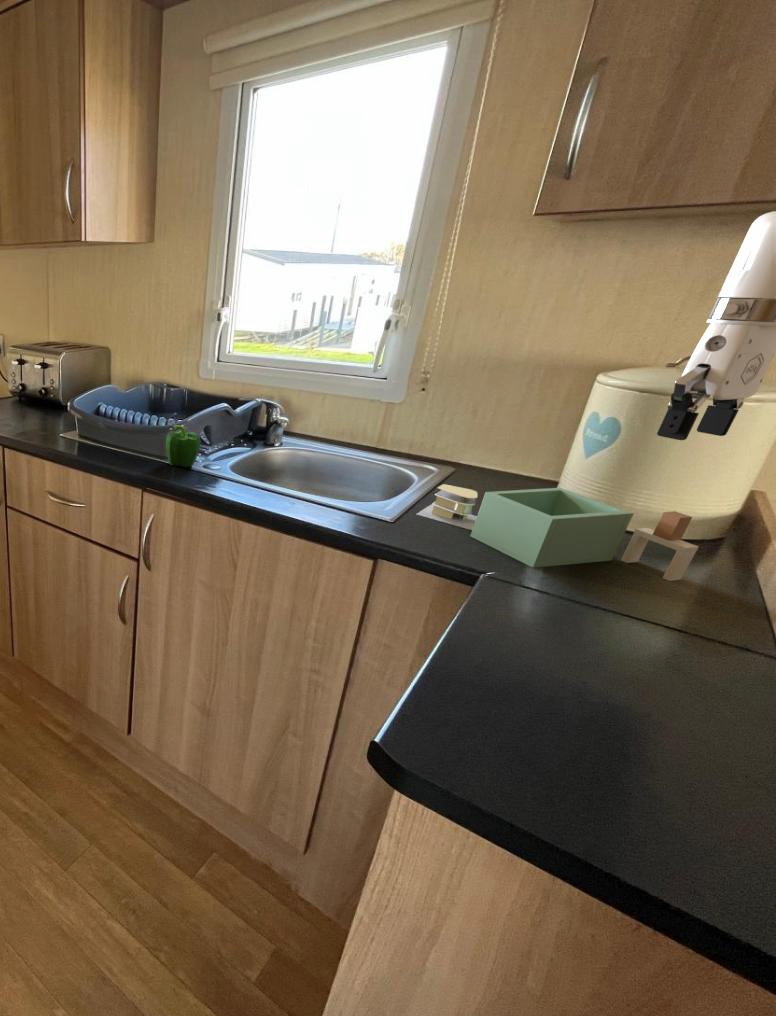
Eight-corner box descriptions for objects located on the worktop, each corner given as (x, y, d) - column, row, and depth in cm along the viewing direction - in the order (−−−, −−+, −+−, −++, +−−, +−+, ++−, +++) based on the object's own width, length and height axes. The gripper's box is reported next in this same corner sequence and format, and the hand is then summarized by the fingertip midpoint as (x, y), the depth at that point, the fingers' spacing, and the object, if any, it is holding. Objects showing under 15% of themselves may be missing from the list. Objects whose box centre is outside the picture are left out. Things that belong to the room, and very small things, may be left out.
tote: (542, 530, 105) (559, 487, 101) (611, 560, 94) (634, 513, 90) (469, 536, 102) (485, 491, 98) (532, 567, 91) (552, 519, 87)
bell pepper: (200, 462, 140) (204, 423, 136) (194, 471, 133) (199, 431, 129) (168, 458, 143) (171, 420, 139) (161, 467, 136) (164, 427, 132)
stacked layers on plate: (415, 514, 111) (423, 488, 109) (431, 504, 116) (439, 479, 114) (472, 530, 104) (481, 503, 102) (486, 518, 110) (495, 493, 107)
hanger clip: (631, 559, 94) (657, 505, 90) (680, 580, 88) (711, 523, 84) (620, 560, 94) (646, 506, 90) (669, 581, 87) (699, 524, 83)
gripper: (752, 314, 69) (688, 446, 76) (825, 315, 74) (758, 438, 81) (677, 311, 75) (623, 433, 82) (748, 312, 81) (693, 426, 88)
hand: (690, 435), depth 82 cm, fingers open, 9 cm apart
